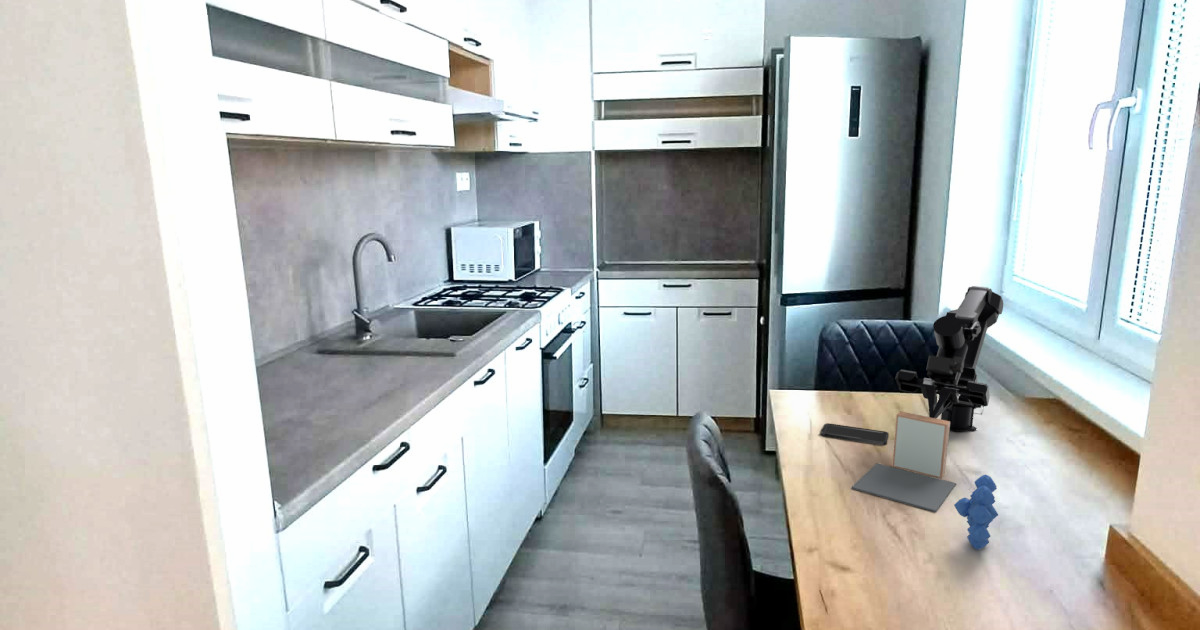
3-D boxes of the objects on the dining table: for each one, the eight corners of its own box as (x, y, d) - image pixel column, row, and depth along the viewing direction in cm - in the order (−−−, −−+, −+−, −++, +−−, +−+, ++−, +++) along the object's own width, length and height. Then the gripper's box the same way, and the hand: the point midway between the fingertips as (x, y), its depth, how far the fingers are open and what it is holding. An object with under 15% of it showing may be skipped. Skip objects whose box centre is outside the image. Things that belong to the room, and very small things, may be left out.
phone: (825, 422, 175) (888, 431, 168) (824, 427, 175) (888, 436, 168) (820, 433, 168) (886, 443, 161) (819, 437, 168) (886, 447, 161)
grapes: (954, 521, 126) (961, 460, 124) (997, 532, 123) (1004, 469, 120) (946, 550, 117) (953, 485, 114) (991, 562, 113) (999, 495, 111)
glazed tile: (896, 462, 152) (900, 411, 150) (944, 475, 146) (950, 421, 143) (892, 466, 150) (896, 414, 148) (941, 479, 144) (946, 424, 141)
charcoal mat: (876, 464, 151) (876, 462, 151) (956, 484, 141) (956, 483, 141) (851, 488, 140) (851, 486, 140) (936, 512, 130) (936, 510, 130)
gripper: (901, 335, 158) (881, 392, 152) (992, 347, 147) (975, 410, 140) (908, 361, 166) (890, 417, 160) (996, 375, 154) (980, 436, 148)
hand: (931, 419), depth 152 cm, fingers closed
